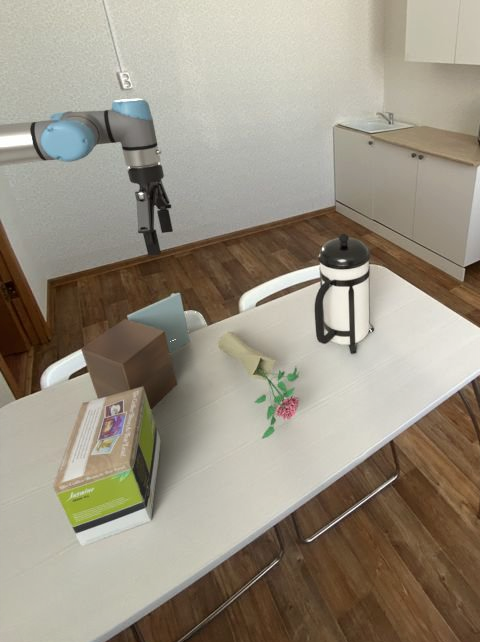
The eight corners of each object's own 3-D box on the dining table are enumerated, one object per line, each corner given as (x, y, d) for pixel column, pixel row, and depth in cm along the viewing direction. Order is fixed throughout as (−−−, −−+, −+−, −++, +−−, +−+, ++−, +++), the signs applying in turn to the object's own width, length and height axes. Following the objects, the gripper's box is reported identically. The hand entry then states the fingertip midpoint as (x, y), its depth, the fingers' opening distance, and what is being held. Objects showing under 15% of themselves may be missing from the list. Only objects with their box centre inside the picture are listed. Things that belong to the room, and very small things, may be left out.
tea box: (102, 459, 71) (81, 400, 66) (162, 441, 75) (146, 383, 69) (79, 550, 58) (50, 485, 53) (152, 523, 61) (131, 459, 56)
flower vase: (247, 369, 101) (327, 433, 75) (200, 381, 93) (271, 458, 67) (250, 324, 101) (331, 373, 75) (204, 333, 93) (275, 390, 67)
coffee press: (312, 322, 107) (305, 225, 97) (368, 314, 110) (367, 219, 100) (318, 368, 92) (310, 257, 81) (383, 357, 94) (383, 249, 84)
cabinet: (139, 370, 92) (124, 318, 87) (177, 384, 88) (164, 331, 82) (99, 403, 83) (80, 348, 78) (139, 420, 79) (122, 363, 74)
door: (137, 362, 94) (123, 312, 89) (185, 336, 102) (175, 289, 97) (141, 367, 92) (128, 316, 87) (190, 341, 100) (180, 293, 95)
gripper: (146, 177, 83) (165, 263, 90) (171, 152, 105) (185, 222, 113) (108, 180, 81) (130, 268, 88) (142, 154, 104) (157, 225, 111)
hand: (161, 242), depth 101 cm, fingers open, 13 cm apart
